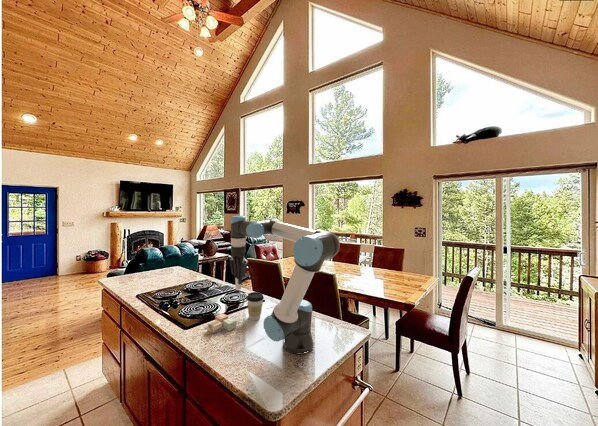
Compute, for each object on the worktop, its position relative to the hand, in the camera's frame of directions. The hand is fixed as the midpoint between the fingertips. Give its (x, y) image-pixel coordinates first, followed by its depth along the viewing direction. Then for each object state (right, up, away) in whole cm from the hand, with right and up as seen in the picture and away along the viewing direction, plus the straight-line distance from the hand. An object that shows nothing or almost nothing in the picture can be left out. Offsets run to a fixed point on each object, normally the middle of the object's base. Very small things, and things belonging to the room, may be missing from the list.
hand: (238, 289), depth 151 cm
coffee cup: (+6, -22, +17) cm, 29 cm away
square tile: (-11, -23, +4) cm, 26 cm away
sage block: (-6, -22, +5) cm, 23 cm away
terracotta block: (-11, -21, +9) cm, 26 cm away
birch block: (-13, -22, +1) cm, 26 cm away
